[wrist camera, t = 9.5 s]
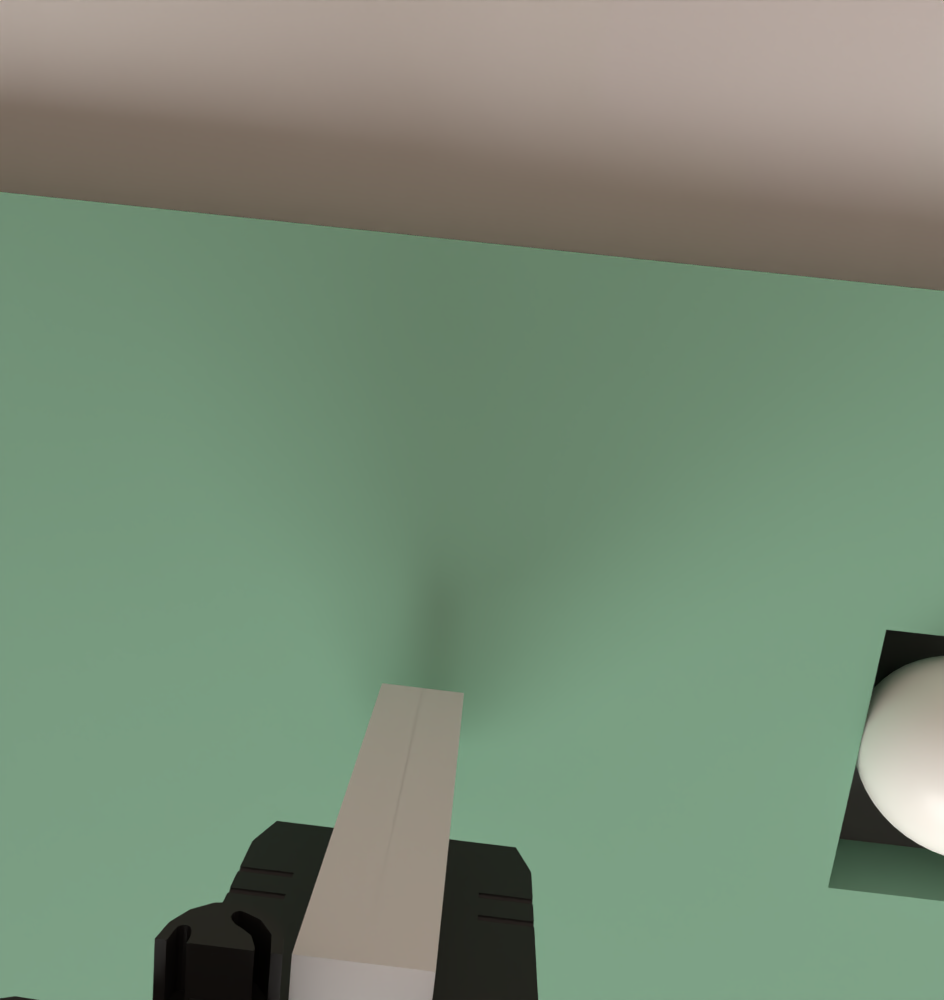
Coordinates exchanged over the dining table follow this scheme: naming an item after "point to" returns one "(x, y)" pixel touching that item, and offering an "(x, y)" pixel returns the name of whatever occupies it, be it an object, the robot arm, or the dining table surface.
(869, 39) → the dining table surface
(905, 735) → the ball
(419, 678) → the green slab with pocket
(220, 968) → the robot arm
